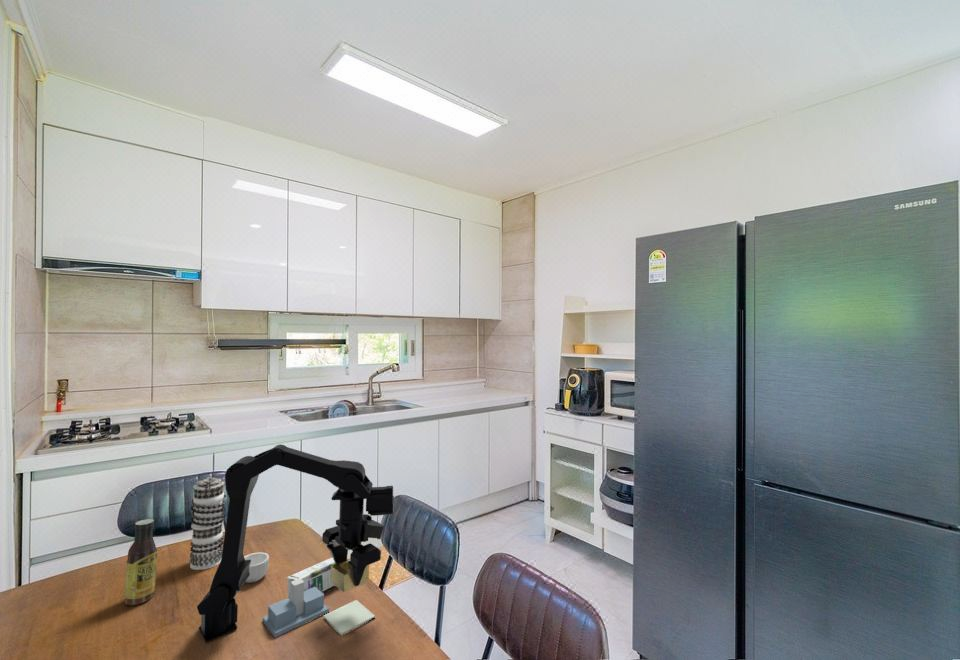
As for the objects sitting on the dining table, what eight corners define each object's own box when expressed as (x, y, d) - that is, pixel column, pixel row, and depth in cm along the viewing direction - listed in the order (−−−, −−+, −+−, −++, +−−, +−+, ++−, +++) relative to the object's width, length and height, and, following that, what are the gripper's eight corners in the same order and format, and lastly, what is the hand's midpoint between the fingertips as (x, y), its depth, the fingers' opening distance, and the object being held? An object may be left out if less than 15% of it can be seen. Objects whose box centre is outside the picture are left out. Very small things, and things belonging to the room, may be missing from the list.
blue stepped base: (275, 637, 98) (276, 600, 98) (262, 621, 103) (263, 585, 103) (330, 611, 107) (331, 577, 107) (315, 597, 113) (316, 565, 113)
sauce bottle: (137, 608, 107) (140, 529, 107) (117, 605, 108) (120, 526, 109) (161, 593, 113) (164, 518, 114) (142, 590, 115) (145, 516, 115)
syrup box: (347, 580, 120) (299, 604, 108) (334, 577, 123) (286, 600, 111) (345, 558, 120) (298, 580, 109) (333, 556, 124) (285, 577, 112)
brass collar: (344, 592, 100) (344, 575, 100) (330, 582, 105) (330, 565, 105) (368, 581, 105) (368, 565, 105) (354, 572, 110) (354, 556, 110)
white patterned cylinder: (191, 558, 131) (193, 477, 132) (225, 552, 135) (228, 473, 136) (185, 573, 123) (188, 486, 124) (222, 566, 127) (224, 482, 128)
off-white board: (341, 636, 98) (341, 633, 98) (323, 617, 105) (323, 615, 105) (375, 618, 105) (375, 615, 105) (356, 602, 111) (356, 599, 111)
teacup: (258, 586, 117) (259, 567, 117) (231, 585, 118) (232, 566, 118) (277, 567, 127) (277, 549, 127) (252, 566, 128) (252, 548, 128)
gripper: (400, 518, 105) (398, 582, 104) (361, 497, 118) (359, 554, 117) (359, 532, 97) (357, 601, 96) (322, 508, 110) (320, 569, 109)
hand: (349, 579), depth 105 cm, fingers closed on brass collar, 7 cm apart
